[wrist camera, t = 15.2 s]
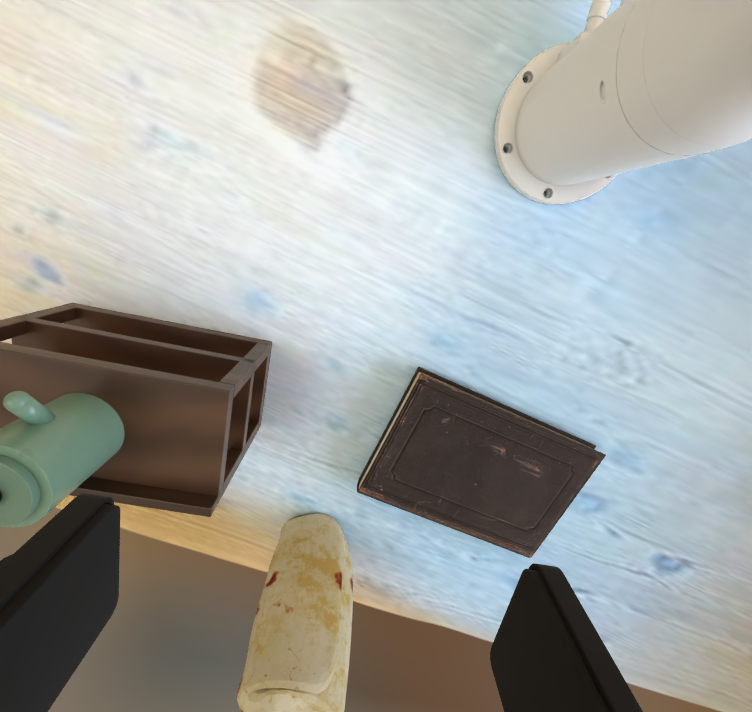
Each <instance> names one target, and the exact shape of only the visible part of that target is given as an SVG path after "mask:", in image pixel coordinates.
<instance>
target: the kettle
mask: <svg viewBox="0 0 752 712" xmlns="http://www.w3.org/2000/svg"><path fill="white" fill-rule="evenodd" d="M3 405H4V407H5V408H6V409H7V410H8V411H10V412H11V413H13V414H14V415H16V416H18V417H19V419H17V420H15V421H13V422H11V423H9V424H7V425H6V426H4V427H2V428H0V526H2V527H23V526H28V525H30V524H33V523H35V522H37V521H39V520H40V519H42V518H43V517H44V516H45V515H46V514H47V513H49V512H50V511H51V510H52V509H53V508H54V507H56V506H57V505H58V504H59V503H60V502H61V501H62V500H63V499H65V498H66V497H67V496H68V495H69V494H70V493H71V492H73V491H74V490H75V489H76V488H77V487H78V486H79V485H81V484H82V483H83V482H84V481H85V480H86V479H87V478H89V477H90V476H91V475H92V474H93V473H94V472H95V471H96V470H98V469H99V468H100V467H101V466H102V465H103V464H104V463H106V462H107V461H108V460H109V459H110V458H111V457H112V456H114V455H115V454H116V453H117V452H118V451H119V449H120V448H121V446H122V444H123V441H124V435H125V433H124V426H123V423H122V420H121V419H120V417H119V415H118V414H117V412H116V411H115V410H114V409H113V408H112V407H111V406H110V405H109V404H108V403H106V402H105V401H103V400H102V399H100V398H98V397H95V396H93V395H89V394H85V393H69V394H65V395H62V396H60V397H58V398H56V399H54V400H52V401H51V402H49V403H47V404H45V405H42V404H41V403H39V402H38V401H37V400H35V399H34V398H33V397H32V396H30V395H29V394H28V393H26V392H23V391H14V392H11V393H9V394H7V395H6V396H5V398H4V400H3Z"/></svg>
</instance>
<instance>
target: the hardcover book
mask: <svg viewBox="0 0 752 712" xmlns="http://www.w3.org/2000/svg"><path fill="white" fill-rule="evenodd" d="M595 447H596V446H595V445H593V444H591V443H589V442H586V441H584V440H582V439H580V438H577V437H575V436H573V435H571V434H568V433H566V432H564V431H562V430H559V429H557V428H555V427H553V426H550V425H548V424H546V423H544V422H541V421H539V420H537V419H535V418H532V417H530V416H528V415H526V414H523V413H521V412H519V411H517V410H515V409H512V408H510V407H508V406H506V405H503V404H501V403H499V402H497V401H494V400H492V399H490V398H488V397H485V396H483V395H481V394H479V393H476V392H474V391H472V390H470V389H467V388H465V387H463V386H461V385H458V384H456V383H454V382H452V381H449V380H447V379H445V378H443V377H440V376H438V375H436V374H434V373H431V372H429V371H427V370H425V369H422V368H420V367H418V369H417V371H416V373H415V374H414V376H413V378H412V380H411V382H410V384H409V386H408V388H407V390H406V391H405V393H404V395H403V397H402V399H401V401H400V403H399V405H398V406H397V408H396V410H395V412H394V414H393V416H392V418H391V420H390V422H389V423H388V425H387V427H386V429H385V431H384V433H383V435H382V437H381V439H380V440H379V442H378V444H377V446H376V448H375V450H374V452H373V454H372V456H371V457H370V459H369V461H368V463H367V465H366V467H365V469H364V471H363V473H362V474H361V476H360V478H359V481H358V485H357V492H358V493H361V494H363V495H366V496H369V497H371V498H374V499H377V500H379V501H382V502H384V503H387V504H390V505H392V506H395V507H397V508H400V509H403V510H405V511H408V512H411V513H413V514H416V515H418V516H421V517H424V518H426V519H429V520H432V521H434V522H437V523H439V524H442V525H445V526H447V527H450V528H452V529H455V530H458V531H460V532H463V533H466V534H468V535H471V536H473V537H476V538H479V539H481V540H484V541H487V542H489V543H492V544H494V545H497V546H500V547H502V548H505V549H508V550H510V551H513V552H515V553H518V554H521V555H523V556H526V557H528V558H530V557H532V556H533V555H534V553H535V552H536V550H537V549H538V548H539V546H540V545H541V544H542V542H543V541H544V539H545V538H546V537H547V535H548V534H549V533H550V531H551V530H552V529H553V527H554V526H555V524H556V523H557V522H558V520H559V519H560V518H561V516H562V515H563V513H564V512H565V511H566V509H567V508H568V507H569V505H570V504H571V502H572V501H573V500H574V498H575V497H576V496H577V494H578V493H579V491H580V490H581V489H582V487H583V486H584V485H585V483H586V482H587V481H588V479H589V478H590V476H591V475H592V474H593V472H594V471H595V470H596V468H597V467H598V465H599V464H600V463H601V461H602V460H603V459H604V457H605V456H606V455H605V454H603V453H601V452H598V451H596V450H594V449H595Z"/></svg>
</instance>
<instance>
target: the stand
mask: <svg viewBox="0 0 752 712" xmlns="http://www.w3.org/2000/svg"><path fill="white" fill-rule="evenodd" d="M63 323H64V324H63ZM10 338H12V344H9V343H3V342H0V428H2V427H4V426H6V425H7V424H9V423H11V422H13V421H15V420H17V419H19V417H18V416H16V415H14V414H13V413H11V412H10V411H8V410H7V409H6V408H5V407H4V405H3V400H4V398H5V396H6V395H7V394H9V393H11V392H14V391H23V392H26V393H28V394H29V395H30V396H32V397H33V398H34V399H35V400H37V401H38V402H39V403H41V404H42V405H45V404H47V403H49V402H51V401H52V400H54V399H56V398H58V397H60V396H62V395H65V394H69V393H85V394H89V395H93V396H95V397H98V398H100V399H102V400H103V401H105V402H106V403H108V404H109V405H110V406H111V407H112V408H113V409H114V410H115V411H116V412H117V414H118V415H119V417H120V419H121V420H122V423H123V426H124V433H125V435H124V441H123V444H122V446H121V448H120V449H119V451H118V452H117V453H116V454H115V455H114V456H112V457H111V458H110V459H109V460H108V461H107V462H106V463H104V464H103V465H102V466H101V467H100V468H99V469H98V470H96V471H95V472H94V473H93V474H92V475H91V476H90V477H89V478H87V479H86V480H85V481H84V482H83V483H82V484H81V485H79V486H78V487H77V488H76V489H75V490H74V491H73V492H71V493H70V494H69V495H72V496H78V495H80V494H83V493H86V494H93V495H99V496H106V497H111V498H112V499H113V500H114V502H117V503H123V504H130V505H136V506H143V507H149V508H156V509H162V510H168V511H175V512H181V513H188V514H194V515H201V516H207V517H211V515H212V513H213V511H214V509H215V508H216V506H217V504H218V502H219V500H220V498H221V497H222V495H223V493H224V491H225V490H226V488H227V486H228V484H229V482H230V480H231V479H232V477H233V475H234V473H235V471H236V470H237V468H238V466H239V464H240V462H241V460H242V459H243V457H244V455H245V453H246V451H247V450H248V448H249V446H250V444H251V442H252V441H253V439H254V437H255V435H256V433H257V431H258V430H259V428H260V426H261V419H262V412H263V404H264V397H265V390H266V383H267V375H268V368H269V361H270V354H271V346H272V342H270V341H265V340H260V339H255V338H250V337H244V336H239V335H234V334H229V333H224V332H219V331H214V330H209V329H203V328H198V327H193V326H188V325H183V324H178V323H173V322H168V321H162V320H157V319H152V318H147V317H142V316H137V315H132V314H127V313H121V312H116V311H111V310H106V309H101V308H96V307H91V306H85V305H80V304H75V303H70V304H66V305H62V306H58V307H54V308H50V309H46V310H41V311H37V312H33V313H29V314H25V315H20V316H16V317H12V318H8V319H4V320H0V341H3V340H7V339H10Z"/></svg>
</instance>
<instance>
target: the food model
mask: <svg viewBox="0 0 752 712" xmlns="http://www.w3.org/2000/svg"><path fill="white" fill-rule="evenodd" d="M352 605H353V579H352V565H351V558H350V553H349V548H348V543H347V541H346V539H345V537H344V535H343V530H342V528H341V527H340V525H339V524H338V522H337V521H336V520H335V519H333V518H332V517H330V516H328V515H325V514H318V513H315V514H309V515H304V516H300V517H297V518H294V519H290V520H289V521H287V522H286V523H285V524H284V526H283V528H282V530H281V535H280V539H279V542H278V545H277V547H276V550H275V552H274V555H273V558H272V560H271V564H270V567H269V571H268V575H267V579H266V583H265V586H264V590H263V593H262V596H261V599H260V601H259V605H258V608H257V612H256V616H255V620H254V624H253V628H252V633H251V638H250V645H249V650H248V655H247V660H246V665H245V669H244V673H243V676H242V679H241V683H240V686H239V689H238V693H237V700H238V704H239V708H240V710H241V711H242V712H344V708H345V698H346V689H347V679H348V668H349V657H350V644H351V627H352Z"/></svg>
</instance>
